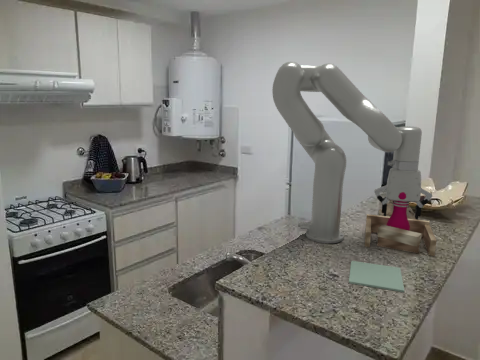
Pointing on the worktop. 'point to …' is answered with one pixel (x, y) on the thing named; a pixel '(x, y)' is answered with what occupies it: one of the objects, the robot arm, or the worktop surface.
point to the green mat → (376, 276)
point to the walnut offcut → (397, 245)
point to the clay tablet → (390, 210)
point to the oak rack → (415, 226)
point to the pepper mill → (399, 214)
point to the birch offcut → (399, 235)
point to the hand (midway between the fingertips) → (400, 216)
